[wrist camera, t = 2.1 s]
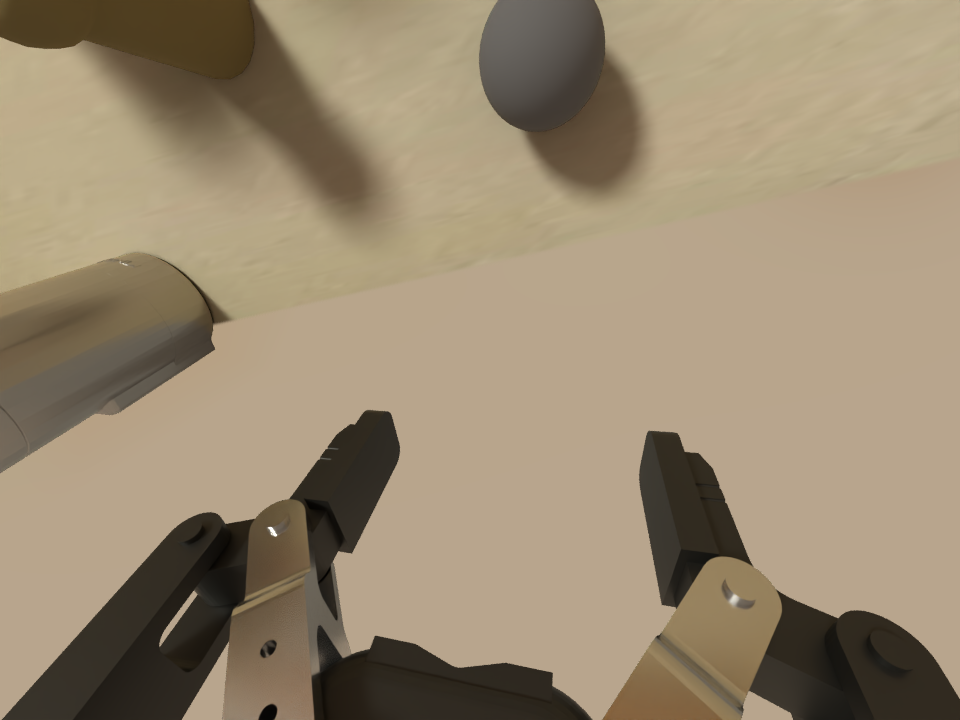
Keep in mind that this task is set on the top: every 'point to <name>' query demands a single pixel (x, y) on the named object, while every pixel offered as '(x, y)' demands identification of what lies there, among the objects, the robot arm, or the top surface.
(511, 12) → the gray ball
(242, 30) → the cork
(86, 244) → the top surface
